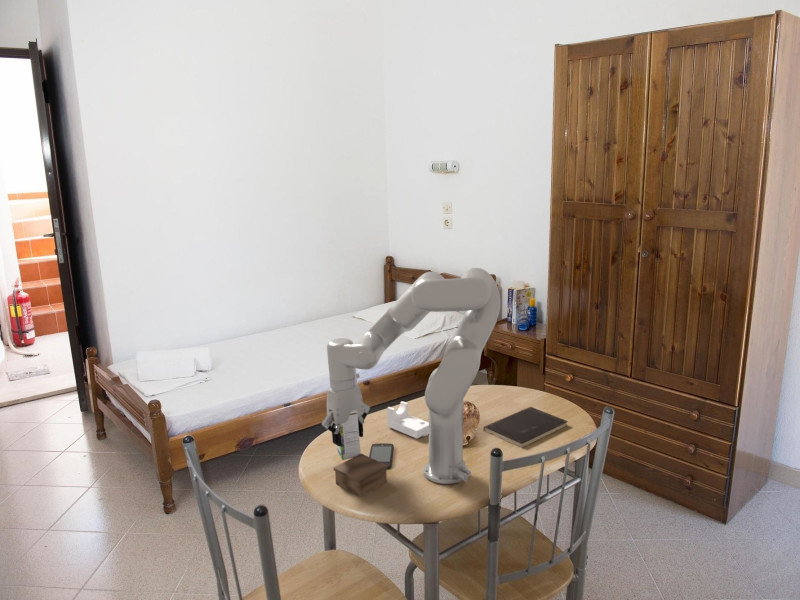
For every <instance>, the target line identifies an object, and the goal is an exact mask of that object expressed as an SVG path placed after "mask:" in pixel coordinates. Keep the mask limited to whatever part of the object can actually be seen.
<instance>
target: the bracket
mask: <svg viewBox="0 0 800 600" xmlns="http://www.w3.org/2000/svg"><path fill="white" fill-rule="evenodd" d="M399 403H400V404H399V407H398V408H397V410H396V408H393V407H391V406H388V407H387V408H386V409H387V414H386V415H387V427H389V428H390V429H393V430H395V431H398V432H400V433H403V434H405V435H408V436H410V437H412V438H414V439H419V438H421V437H424V436H425V437H427V436H429V435H428V434H429V421H426V420H424V419H421V418H418V417H416V416H413V415H411V414H409V403H408V402H405V401H400V402H399ZM426 435H427V436H426Z"/></svg>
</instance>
